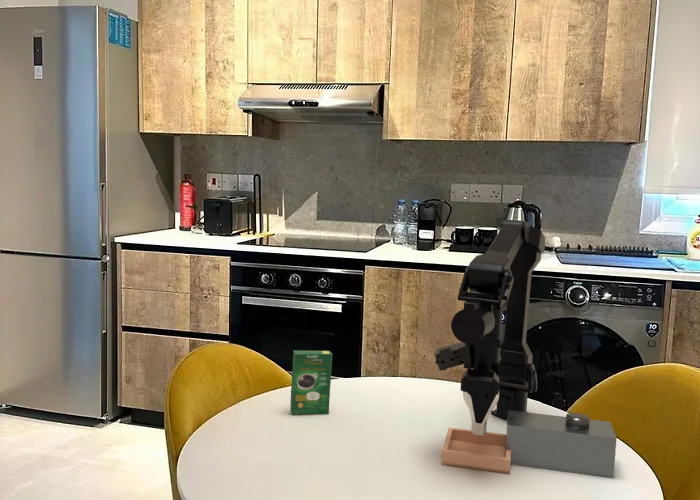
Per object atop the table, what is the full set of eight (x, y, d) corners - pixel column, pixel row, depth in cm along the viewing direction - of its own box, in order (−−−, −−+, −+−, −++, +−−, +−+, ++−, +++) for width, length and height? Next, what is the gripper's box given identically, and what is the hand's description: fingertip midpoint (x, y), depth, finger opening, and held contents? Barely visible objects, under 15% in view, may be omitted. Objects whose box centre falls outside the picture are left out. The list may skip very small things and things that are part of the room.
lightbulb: (496, 444, 117) (500, 383, 116) (459, 440, 118) (463, 379, 117) (496, 431, 123) (499, 373, 122) (461, 427, 125) (464, 369, 123)
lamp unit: (504, 463, 119) (507, 416, 118) (505, 445, 127) (508, 401, 126) (613, 477, 114) (617, 429, 113) (607, 458, 122) (610, 412, 121)
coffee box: (327, 409, 142) (330, 348, 141) (330, 414, 140) (332, 352, 138) (289, 410, 141) (291, 349, 139) (291, 415, 138) (293, 353, 136)
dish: (448, 440, 128) (448, 427, 128) (510, 448, 125) (511, 435, 125) (441, 464, 117) (442, 450, 117) (509, 474, 114) (510, 460, 114)
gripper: (444, 317, 130) (440, 395, 131) (432, 339, 112) (428, 430, 113) (503, 322, 127) (498, 402, 129) (501, 346, 109) (495, 438, 111)
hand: (479, 417), depth 121 cm, fingers closed on lightbulb, 6 cm apart
